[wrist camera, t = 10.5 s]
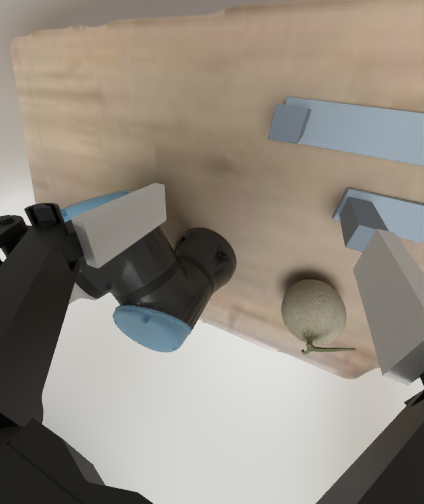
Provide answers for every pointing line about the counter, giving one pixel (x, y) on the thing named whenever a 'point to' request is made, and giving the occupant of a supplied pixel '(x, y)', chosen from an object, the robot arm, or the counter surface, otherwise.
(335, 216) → the lane
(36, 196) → the counter surface
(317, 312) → the fruit
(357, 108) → the strip
